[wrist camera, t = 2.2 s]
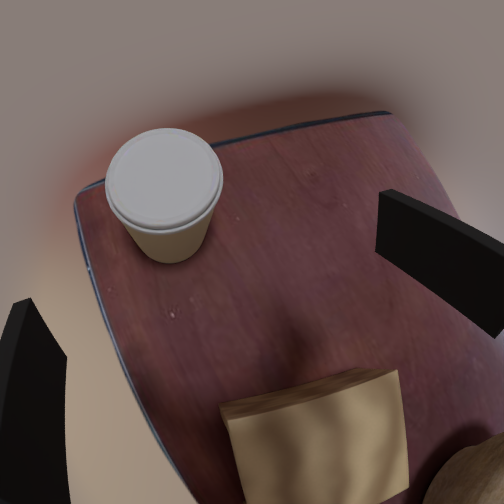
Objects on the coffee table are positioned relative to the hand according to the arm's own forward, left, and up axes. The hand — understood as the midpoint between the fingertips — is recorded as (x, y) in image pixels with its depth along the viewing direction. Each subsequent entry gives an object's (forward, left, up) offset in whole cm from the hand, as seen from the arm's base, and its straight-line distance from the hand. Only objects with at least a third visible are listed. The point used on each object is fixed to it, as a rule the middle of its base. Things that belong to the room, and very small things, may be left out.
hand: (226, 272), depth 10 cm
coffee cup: (-2, +11, -22) cm, 25 cm away
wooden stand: (+8, -15, -22) cm, 28 cm away
